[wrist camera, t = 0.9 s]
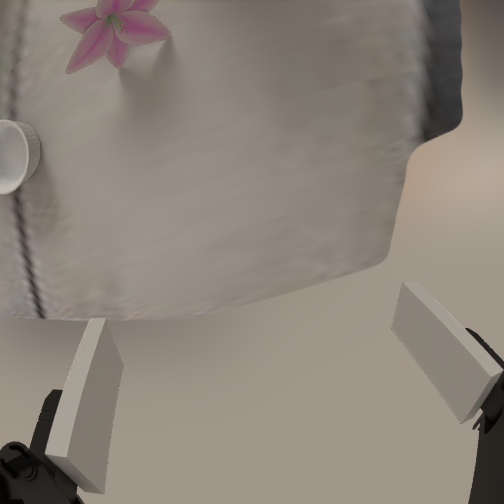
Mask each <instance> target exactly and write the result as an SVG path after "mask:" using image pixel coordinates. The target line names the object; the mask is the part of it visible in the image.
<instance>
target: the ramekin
mask: <svg viewBox="0 0 504 504" xmlns="http://www.w3.org/2000/svg"><path fill="white" fill-rule="evenodd" d="M39 160H40V141H39V138H38V135H37V133H36V132H35V130H34V129H33V128H32V127H31V126H30V125H28V124H27V123H24V122H19V121H11V120H0V195H6V194H9V193H11V192H13V191H15V190H16V189H17V188H18V187H19V186H20V185H21V184H22V183H24V182H25V181H27V180H28V179H29V178H30V177H31V176H32V175H33V174H34V172H35V171H36V169H37V167H38V164H39Z"/></svg>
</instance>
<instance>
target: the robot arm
mask: <svg viewBox="0 0 504 504" xmlns="http://www.w3.org/2000/svg"><path fill="white" fill-rule="evenodd" d="M391 329H392V330H393V332H394V333H395V334H396V336H397V337H398V338H399V339H400V341H401V342H402V343H403V345H404V346H405V347H406V348H407V350H408V351H409V353H410V354H411V355H412V356H413V358H414V359H415V361H416V362H417V363H418V365H419V366H420V367H421V368H422V370H423V371H424V373H425V374H426V375H427V377H428V378H429V379H430V381H431V382H432V384H433V385H434V386H435V388H436V389H437V391H438V392H439V393H440V395H441V396H442V398H443V399H444V400H445V402H446V403H447V405H448V406H449V407H450V409H451V410H452V412H453V413H454V415H455V416H456V418H457V419H458V421H459V422H460V424H462V423H464V422H466V421H467V420H469V419H471V418H473V417H474V416H475V414H476V413H477V411H478V410H479V409H480V408H481V409H482V411H483V413H482V414H481V416H480V417H479V419H478V420H477V422H476V423H475V424H474V426H473V429H475V428H476V427H477V426H478V424H479V423H480V427H479V428H478V430H479V440H478V449H477V457H476V465H475V471H474V477H473V483H472V488H471V493H470V498H469V503H468V504H504V361H503V360H502V359H501V358H500V357H499V356H498V355H497V354H496V353H495V352H494V351H493V349H492V348H490V347H489V345H488V344H487V343H485V342H484V340H483V339H482V338H481V337H480V336H479V335H478V334H477V333H475V332H474V331H472V330H470V329H469V328H464V327H463V326H462V325H461V324H460V323H459V322H458V321H457V320H456V319H455V318H454V317H453V316H452V315H451V314H450V313H449V312H448V311H447V310H446V309H445V308H444V307H443V306H442V305H441V304H439V303H438V301H436V299H434V298H433V297H432V296H431V295H430V294H429V293H428V292H427V291H426V290H425V289H424V288H423V287H422V286H421V285H420V284H418V283H417V282H416V281H415V280H411V281H406V282H402V285H401V289H400V294H399V298H398V303H397V307H396V311H395V315H394V319H393V323H392V327H391ZM123 366H124V365H123V362H122V360H121V357H120V355H119V352H118V349H117V347H116V344H115V341H114V339H113V336H112V333H111V330H110V328H109V325H108V322H107V319H106V318H94V319H90V320H89V322H88V325H87V327H86V330H85V332H84V335H83V337H82V340H81V342H80V345H79V348H78V350H77V353H76V356H75V358H74V361H73V363H72V366H71V369H70V372H69V375H68V377H67V380H66V384H65V386H64V389H63V390H52V391H51V393H50V394H49V395H48V396H47V397H46V399H45V401H44V404H43V407H42V410H41V411H42V412H41V413H40V415H39V418H38V420H39V421H38V422H37V425H36V428H35V431H34V434H33V438H32V441H31V444H30V448H29V449H28V448H27V447H26V446H25V445H24V444H22V443H20V442H10V443H7V444H6V445H5V446H3V447H2V449H1V450H0V504H84V503H83V501H82V500H81V498H80V497H79V496H78V495H77V494H76V493H77V486H79V487H80V488H81V489H82V490H84V492H91V493H98V494H104V493H105V482H106V473H107V464H108V455H109V447H110V440H111V433H112V426H113V420H114V414H115V408H116V402H117V397H118V391H119V386H120V381H121V375H122V370H123Z"/></svg>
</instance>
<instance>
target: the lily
mask: <svg viewBox="0 0 504 504" xmlns="http://www.w3.org/2000/svg"><path fill="white" fill-rule="evenodd" d="M158 1H159V0H99V1H98V3H97V6H96V7H92V8H87V9H82V10H78V11H74V12H71V13H67V14H65V15H62V16H61V17H60V21H62V22H63V23H64V24H65V25H67V26H68V27H70V28H72V29H73V30H75V31H77V32H79V33H82V34H83V36H82V38H81V40H80V41H79V43H78V45H77V47H76V49H75V51H74V53H73V55H72V57H71V59H70V61H69V63H68V65H67V68H66V71H65V72H66V74H70V73H73V72H76V71H78V70H80V69H82V68H84V67H86V66H88V65H90V64H92V63H93V62H95V61H97V60H98V59H100V58H101V57H102V56H104V55H106V56H107V58H108V59H109V61H110V62H111V63H112V64H113V65H114V67H116V68H117V69H119V68H121V67H122V65H123V63H124V61H125V59H126V57H127V54H128V52H129V49H130V45H141V44H148V43H153V42H157V41H161V40H164V39H167V38H168V37H169V36H171V33H170V31H169V30H168V29H167V28H166V27H165V26H164V25H163V24H162V23H161V22H160V21H159V20H158V19H157V18H156V17H154V16H153V15H151V14H149V13H148V12H150V11H151V9H152V8H153V7H154V6H155V5H156V4H157V2H158Z"/></svg>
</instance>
